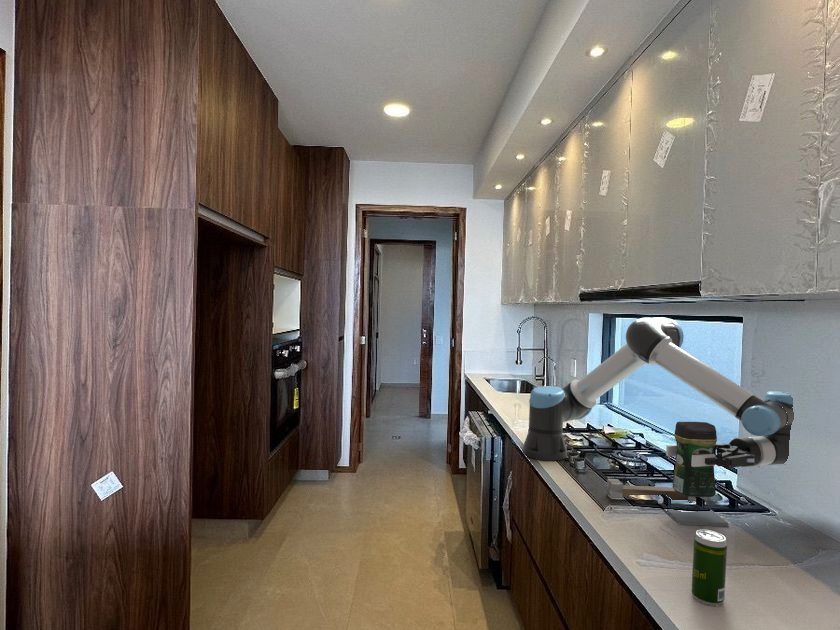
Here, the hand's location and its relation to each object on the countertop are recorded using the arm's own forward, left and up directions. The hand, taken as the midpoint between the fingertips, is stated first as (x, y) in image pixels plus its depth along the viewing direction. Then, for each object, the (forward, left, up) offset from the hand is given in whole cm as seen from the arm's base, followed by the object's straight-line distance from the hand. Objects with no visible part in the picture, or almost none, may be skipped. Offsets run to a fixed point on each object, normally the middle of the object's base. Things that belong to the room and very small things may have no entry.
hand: (679, 455), depth 137 cm
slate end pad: (-1, +4, -16) cm, 16 cm away
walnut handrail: (-11, -2, -16) cm, 20 cm away
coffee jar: (-1, +5, -10) cm, 11 cm away
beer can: (+39, -12, -16) cm, 43 cm away
